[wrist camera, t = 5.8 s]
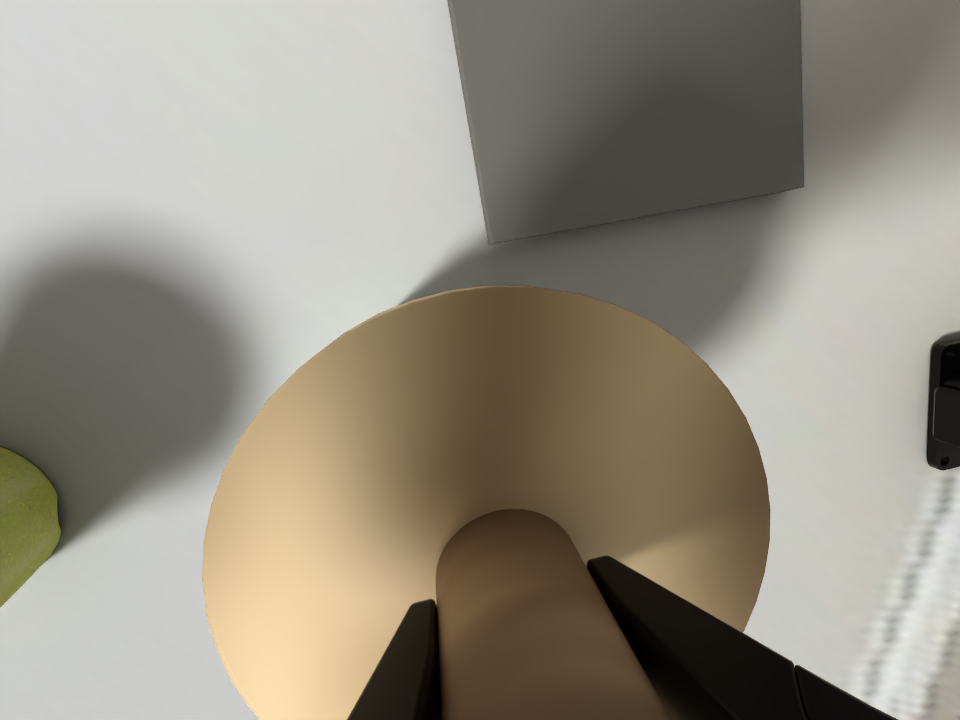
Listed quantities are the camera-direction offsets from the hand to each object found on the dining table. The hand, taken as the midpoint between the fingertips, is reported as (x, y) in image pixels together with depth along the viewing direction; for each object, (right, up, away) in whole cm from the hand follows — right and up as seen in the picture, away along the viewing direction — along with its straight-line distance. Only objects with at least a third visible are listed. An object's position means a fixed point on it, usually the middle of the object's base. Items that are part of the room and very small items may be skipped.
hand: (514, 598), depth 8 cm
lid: (0, 0, +2) cm, 2 cm away
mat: (+5, +17, +9) cm, 20 cm away
